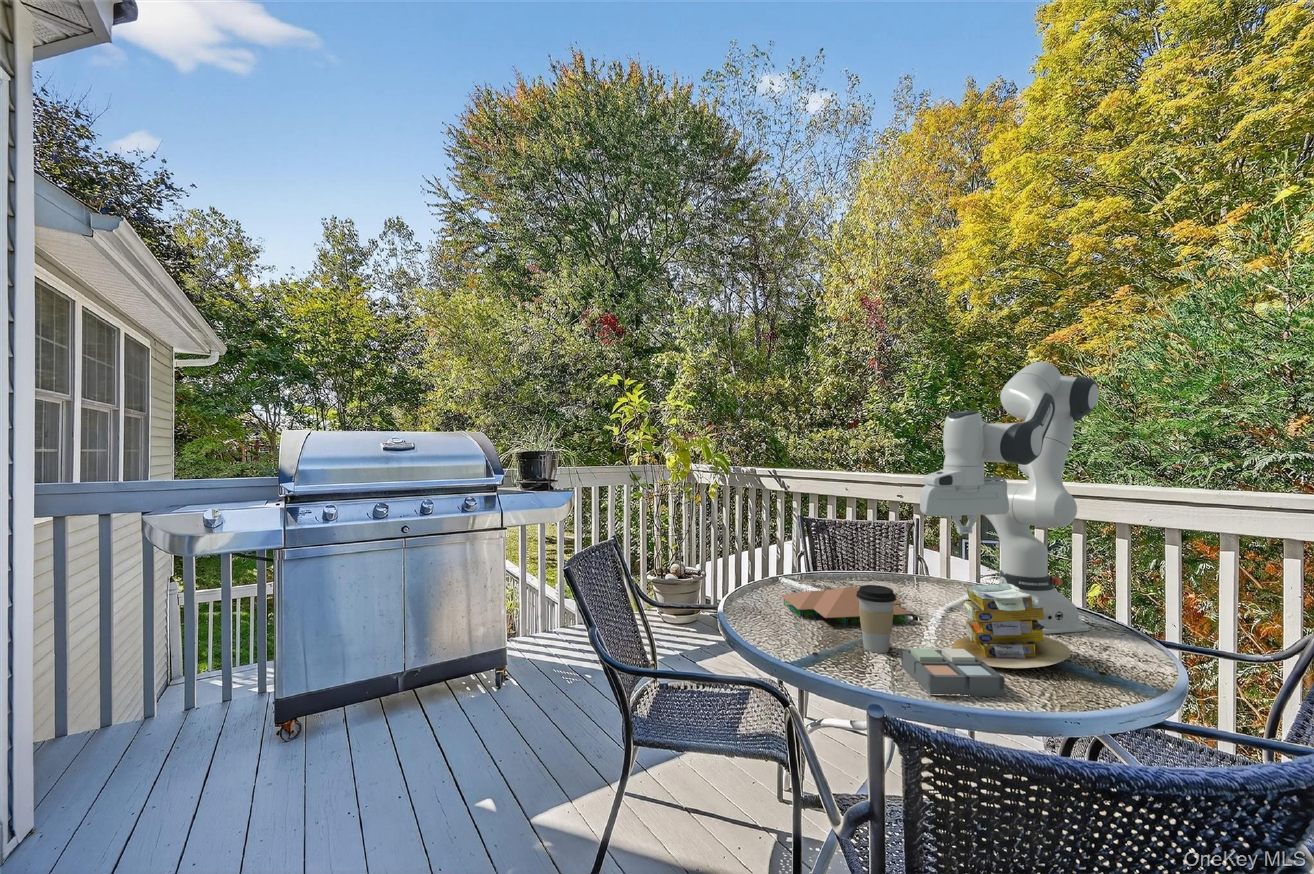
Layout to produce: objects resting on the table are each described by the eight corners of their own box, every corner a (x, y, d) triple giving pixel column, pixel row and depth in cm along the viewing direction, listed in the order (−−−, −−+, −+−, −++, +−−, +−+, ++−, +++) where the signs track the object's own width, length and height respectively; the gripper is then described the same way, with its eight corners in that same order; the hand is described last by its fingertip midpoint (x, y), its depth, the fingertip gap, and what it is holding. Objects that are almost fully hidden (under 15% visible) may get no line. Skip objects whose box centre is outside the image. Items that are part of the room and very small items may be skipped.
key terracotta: (947, 674, 126) (947, 665, 126) (958, 684, 121) (958, 675, 121) (923, 674, 126) (923, 665, 126) (934, 684, 121) (934, 675, 121)
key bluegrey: (979, 675, 126) (980, 665, 126) (992, 685, 121) (992, 675, 121) (956, 674, 126) (956, 665, 126) (968, 685, 121) (968, 675, 121)
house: (920, 624, 166) (920, 596, 165) (809, 630, 161) (809, 600, 161) (878, 601, 188) (878, 576, 188) (780, 605, 183) (780, 579, 183)
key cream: (963, 657, 133) (963, 648, 133) (975, 666, 128) (975, 657, 128) (941, 657, 133) (941, 648, 133) (952, 666, 128) (952, 657, 128)
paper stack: (947, 664, 137) (948, 593, 136) (953, 632, 158) (953, 570, 158) (1077, 687, 124) (1077, 609, 124) (1063, 649, 146) (1064, 582, 146)
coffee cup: (895, 644, 149) (895, 585, 149) (897, 658, 140) (897, 595, 140) (855, 640, 152) (856, 582, 152) (855, 653, 143) (856, 592, 143)
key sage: (932, 657, 133) (932, 648, 133) (942, 666, 128) (942, 657, 128) (910, 657, 133) (910, 648, 133) (919, 665, 128) (919, 656, 128)
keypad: (967, 667, 134) (967, 649, 134) (1004, 696, 119) (1004, 677, 119) (901, 666, 135) (901, 649, 135) (930, 696, 120) (930, 676, 120)
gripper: (999, 474, 146) (1000, 530, 146) (916, 476, 146) (917, 531, 146) (1014, 477, 139) (1015, 534, 140) (927, 479, 140) (928, 536, 140)
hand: (964, 533), depth 143 cm, fingers closed
